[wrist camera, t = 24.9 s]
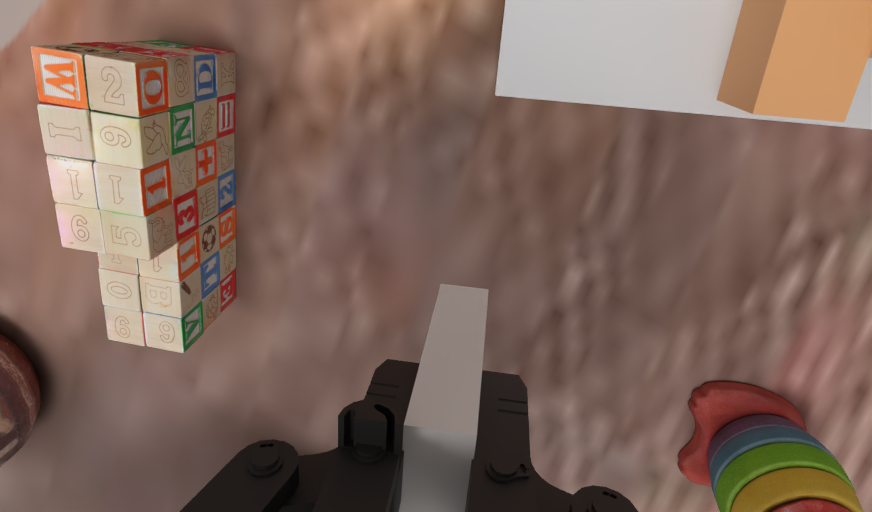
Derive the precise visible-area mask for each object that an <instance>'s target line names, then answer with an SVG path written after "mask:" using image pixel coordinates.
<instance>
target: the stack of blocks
mask: <svg viewBox="0 0 872 512" xmlns="http://www.w3.org/2000/svg"><path fill="white" fill-rule="evenodd" d="M31 52H32V58H33V64H34V71H35V78H36V85H37V91H38V98H39V100H40V103H39V104H38V106H37V108H38V113H39V120H40V125H41V131H42V137H43V143H44V148H45V152H46V153H47V154H48V156H47V158H46V160H47V167H48V172H49V178H50V183H51V188H52V195H53V199H54V200H55V202H56V204H55V208H56V214H57V219H58V225H59V231H60V236H61V242H62V246H63V247H67V248H73V249H79V250H85V251H91V252H97V255H98V263H99V269H98V271H99V279H100V287H101V295H102V302H103V304H104V310H105V318H106V327H107V334H108V339H110V340H114V341H120V342H125V343H130V344H135V345H140V346H149V347H154V348H159V349H164V350H170V351H176V352H181V353H184V352H185V351H186V350H187V349H188V348H189V347H190V346H191V345H192V344H193V343H194V342H195V341H196V340H197V339H198V338H199V337H200V336H201V335H202V334H203V332H204V330H205V329H206V328H207V327H208V326H209V325H210V324H211V323H212V322H213V321H214V320H215V319H216V318H217V317H218V316H219V315H220V313H221V312H222V311H223V310H224V309H225V308H226V307H227V306H228V305H229V304H230V303H231V302H232V301H233V300H234V299H235V298H236V284H235V268H236V238H235V237H236V205H235V170H234V166H235V150H234V132H235V52H231V51H225V50H219V49H212V48H206V47H200V46H189V45H183V44H177V43H171V42H165V41H160V40H151V41H135V42H107V43H105V42H93V43H72V44H69V45H44V46H32V47H31Z"/></svg>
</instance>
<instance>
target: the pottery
mask: <svg viewBox="0 0 872 512" xmlns="http://www.w3.org/2000/svg"><path fill="white" fill-rule="evenodd" d="M40 406H41V403H40V389H39V379H38V376H37V374H36V372H35V370H34V367H33V365H32V363H31V361H30V360H29V359H28V357H27V356H26V355H25V354H24V353H23V351H22V350H21V349H20V348H19V346H17V345H16V344H15V343H13V342H12V341H11V340H9V339H8V338H7V337H5V336H4V335H3V334H1V333H0V467H1V466H2V465H3V464H4V463H5V462H6V461H8V460H9V459H10V458H11V457H12V456H13V455H14V454H15V453H16V452H17V451H18V450H19V449H20V448H21V447H22V446H23V445H24V444H25V442H26V441H27V439H28V438H29V436H30V433H31V430H32V428H33V425H34V423H35V420H36V417H37V415H38V412H39V409H40Z"/></svg>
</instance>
